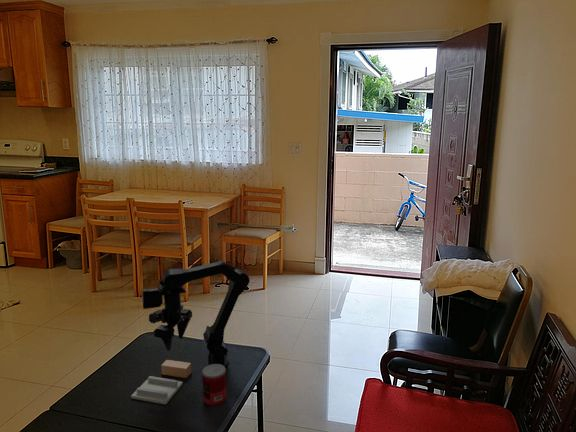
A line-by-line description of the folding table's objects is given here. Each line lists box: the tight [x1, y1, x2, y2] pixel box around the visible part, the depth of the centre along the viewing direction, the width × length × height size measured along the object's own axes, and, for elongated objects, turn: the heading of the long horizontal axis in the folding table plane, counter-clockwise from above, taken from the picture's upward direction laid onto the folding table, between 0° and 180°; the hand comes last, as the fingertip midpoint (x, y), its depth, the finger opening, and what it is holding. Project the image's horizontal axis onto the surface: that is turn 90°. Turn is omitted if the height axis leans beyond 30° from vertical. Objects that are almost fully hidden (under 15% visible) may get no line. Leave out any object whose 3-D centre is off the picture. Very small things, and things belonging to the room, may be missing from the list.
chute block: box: [160, 359, 192, 379], centre depth 169 cm, size 10×4×4 cm, turn 76°
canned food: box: [201, 364, 227, 407], centre depth 153 cm, size 8×8×11 cm
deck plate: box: [130, 375, 184, 405], centre depth 158 cm, size 13×12×2 cm
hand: (174, 344), depth 167 cm, fingers open, 9 cm apart
